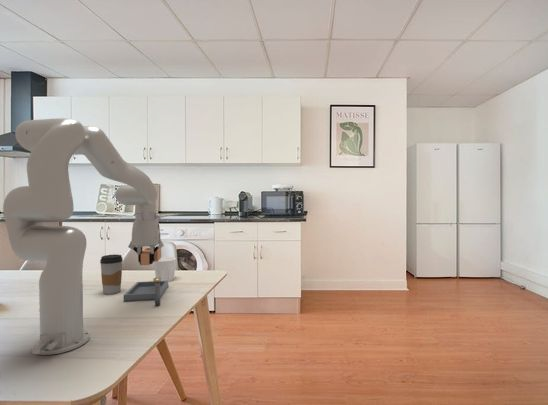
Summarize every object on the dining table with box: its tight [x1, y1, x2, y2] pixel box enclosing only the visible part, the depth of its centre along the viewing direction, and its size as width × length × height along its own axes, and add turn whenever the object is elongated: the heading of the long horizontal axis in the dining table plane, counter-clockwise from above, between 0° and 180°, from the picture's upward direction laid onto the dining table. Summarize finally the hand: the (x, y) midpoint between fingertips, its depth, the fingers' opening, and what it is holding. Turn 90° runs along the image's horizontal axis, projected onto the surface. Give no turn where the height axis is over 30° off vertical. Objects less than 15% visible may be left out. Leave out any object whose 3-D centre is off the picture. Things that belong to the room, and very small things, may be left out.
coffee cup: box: [99, 254, 124, 296], centre depth 125 cm, size 8×8×15 cm
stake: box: [153, 277, 161, 307], centre depth 110 cm, size 3×3×10 cm
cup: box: [153, 256, 177, 283], centre depth 144 cm, size 10×10×10 cm
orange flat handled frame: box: [140, 247, 162, 266], centre depth 124 cm, size 7×13×4 cm, turn 9°
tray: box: [123, 280, 169, 303], centre depth 124 cm, size 18×13×2 cm
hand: (146, 263), depth 120 cm, fingers closed on orange flat handled frame, 3 cm apart
